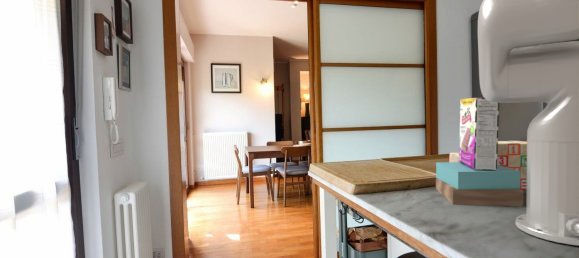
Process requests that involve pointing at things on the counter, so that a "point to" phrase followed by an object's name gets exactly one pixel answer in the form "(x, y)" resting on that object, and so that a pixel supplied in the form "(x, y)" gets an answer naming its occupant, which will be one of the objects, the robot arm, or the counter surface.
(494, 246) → the counter surface
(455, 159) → the stack of blocks
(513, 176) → the teal top slab
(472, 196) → the walnut base slab
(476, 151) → the candy bar box
